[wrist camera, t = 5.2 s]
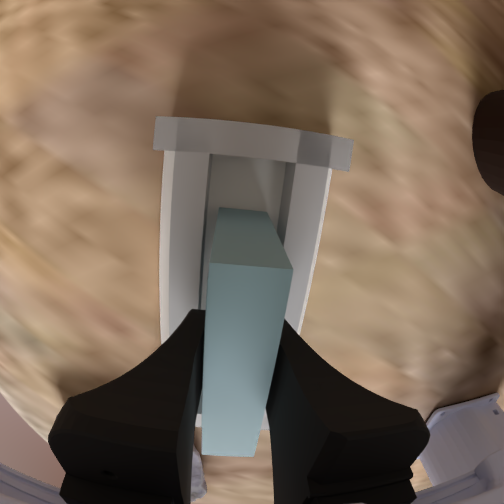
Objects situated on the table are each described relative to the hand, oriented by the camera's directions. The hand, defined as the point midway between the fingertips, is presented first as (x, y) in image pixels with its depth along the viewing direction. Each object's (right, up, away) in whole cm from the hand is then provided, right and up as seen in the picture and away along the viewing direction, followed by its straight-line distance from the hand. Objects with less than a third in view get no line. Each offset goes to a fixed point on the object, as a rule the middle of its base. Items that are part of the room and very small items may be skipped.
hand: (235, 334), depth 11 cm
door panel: (0, +1, +3) cm, 3 cm away
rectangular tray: (0, +1, +4) cm, 4 cm away
